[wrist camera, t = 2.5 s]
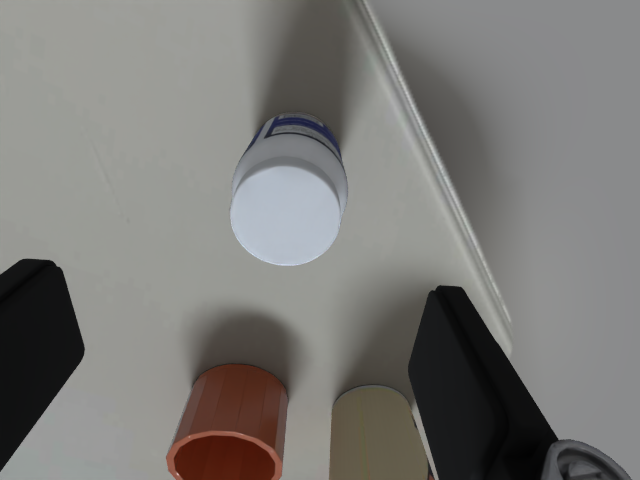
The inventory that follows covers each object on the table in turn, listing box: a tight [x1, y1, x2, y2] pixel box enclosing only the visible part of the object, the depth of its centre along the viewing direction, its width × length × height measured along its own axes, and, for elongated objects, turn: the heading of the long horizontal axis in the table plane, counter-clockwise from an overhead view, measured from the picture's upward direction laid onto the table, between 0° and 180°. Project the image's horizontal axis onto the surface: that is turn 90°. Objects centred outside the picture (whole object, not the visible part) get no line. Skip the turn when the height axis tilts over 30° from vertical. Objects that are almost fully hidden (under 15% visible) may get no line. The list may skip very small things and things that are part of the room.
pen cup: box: [166, 364, 288, 480], centre depth 32 cm, size 9×9×6 cm
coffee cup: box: [329, 385, 435, 480], centre depth 31 cm, size 9×9×12 cm
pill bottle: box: [230, 112, 348, 266], centre depth 19 cm, size 6×6×10 cm
